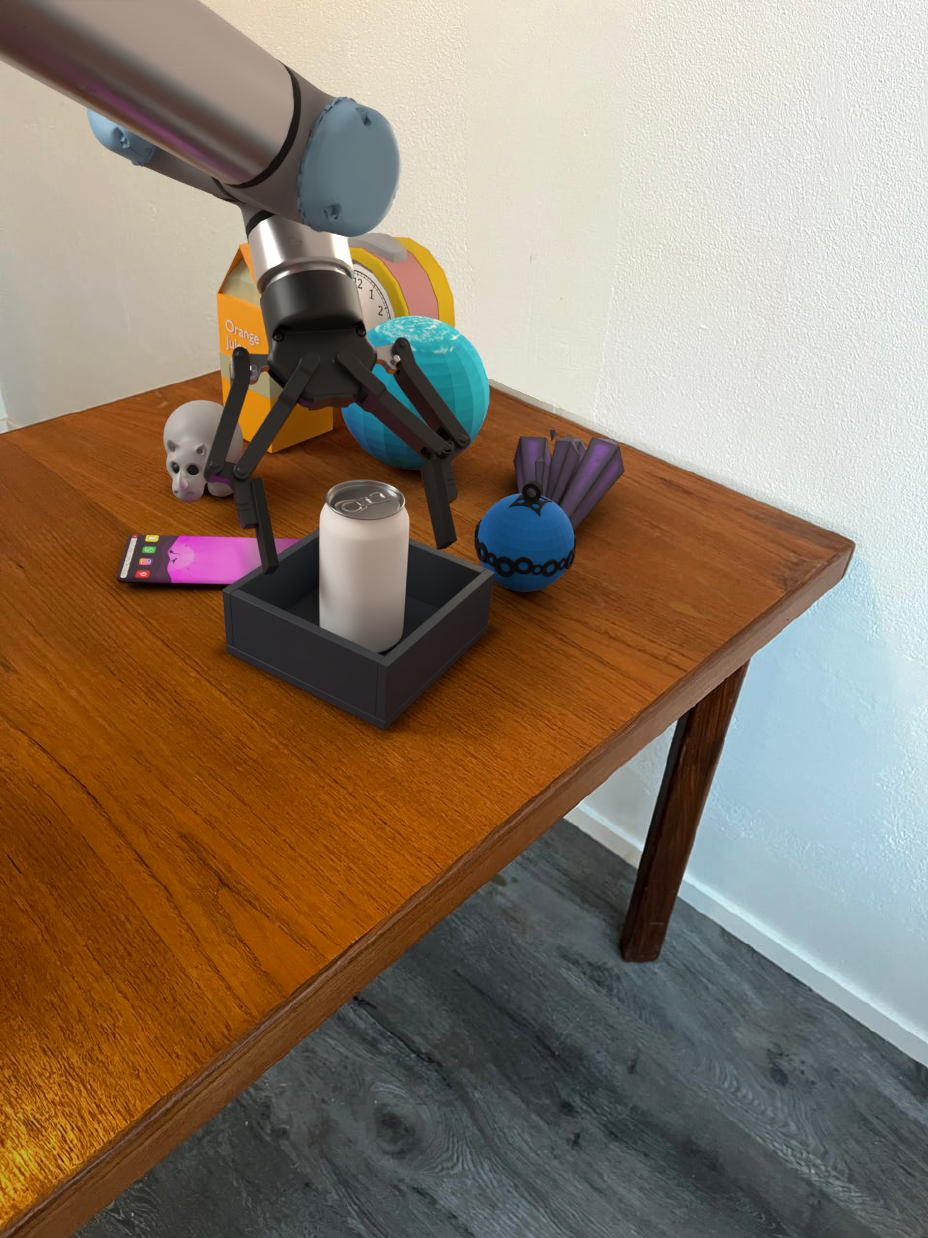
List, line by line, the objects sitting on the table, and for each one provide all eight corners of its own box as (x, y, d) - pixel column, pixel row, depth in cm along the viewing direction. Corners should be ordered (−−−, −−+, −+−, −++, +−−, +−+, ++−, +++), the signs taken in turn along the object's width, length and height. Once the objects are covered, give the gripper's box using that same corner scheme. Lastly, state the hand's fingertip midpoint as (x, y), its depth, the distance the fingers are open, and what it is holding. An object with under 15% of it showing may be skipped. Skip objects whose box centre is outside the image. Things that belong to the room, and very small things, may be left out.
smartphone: (131, 541, 85) (129, 532, 84) (305, 542, 87) (305, 534, 86) (117, 588, 79) (115, 579, 79) (304, 589, 81) (304, 580, 81)
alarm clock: (307, 386, 115) (306, 223, 104) (357, 369, 120) (360, 213, 110) (399, 428, 108) (408, 259, 97) (448, 408, 113) (461, 246, 102)
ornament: (581, 575, 87) (599, 475, 81) (547, 624, 80) (564, 519, 75) (493, 547, 89) (505, 448, 84) (453, 592, 83) (463, 489, 77)
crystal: (607, 502, 85) (638, 399, 100) (479, 487, 88) (528, 389, 103) (602, 568, 90) (633, 460, 104) (482, 552, 92) (528, 449, 107)
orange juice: (223, 428, 104) (210, 234, 92) (286, 406, 110) (281, 221, 98) (272, 454, 100) (266, 255, 89) (334, 429, 106) (336, 240, 94)
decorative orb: (313, 444, 103) (312, 303, 94) (433, 421, 110) (443, 287, 101) (383, 509, 93) (389, 358, 84) (510, 478, 101) (528, 337, 92)
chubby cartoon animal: (141, 525, 87) (130, 439, 82) (181, 464, 97) (173, 383, 92) (221, 534, 87) (215, 448, 82) (253, 472, 97) (249, 391, 92)
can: (303, 626, 76) (301, 490, 69) (371, 599, 80) (375, 468, 73) (350, 669, 72) (353, 531, 65) (419, 640, 76) (429, 505, 69)
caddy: (226, 652, 74) (221, 589, 71) (342, 569, 84) (343, 511, 81) (384, 730, 68) (387, 666, 65) (487, 631, 79) (495, 571, 76)
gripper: (443, 304, 82) (496, 546, 80) (137, 319, 74) (187, 592, 71) (473, 259, 75) (532, 523, 73) (138, 269, 67) (194, 570, 64)
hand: (362, 558), depth 72 cm, fingers open, 13 cm apart
